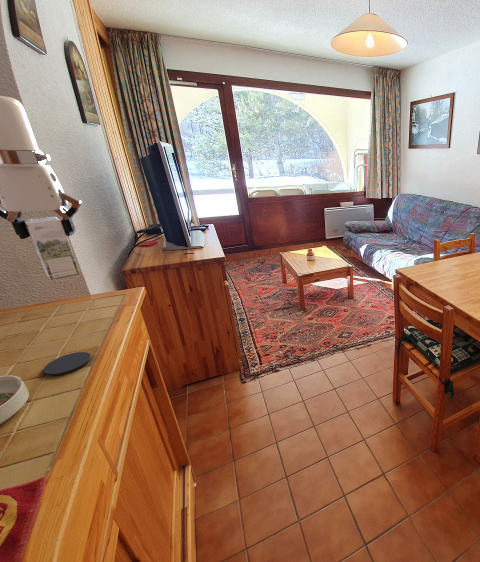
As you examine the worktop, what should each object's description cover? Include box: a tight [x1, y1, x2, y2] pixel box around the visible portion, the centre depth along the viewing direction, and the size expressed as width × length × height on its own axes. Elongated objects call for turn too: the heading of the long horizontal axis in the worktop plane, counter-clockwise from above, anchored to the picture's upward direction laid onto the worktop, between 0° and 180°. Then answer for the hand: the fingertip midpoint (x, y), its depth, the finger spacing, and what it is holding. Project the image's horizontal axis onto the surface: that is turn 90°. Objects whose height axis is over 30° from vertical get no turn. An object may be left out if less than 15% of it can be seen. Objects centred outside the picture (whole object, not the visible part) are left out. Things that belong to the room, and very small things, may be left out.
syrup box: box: [23, 216, 81, 281], centre depth 77 cm, size 6×6×14 cm
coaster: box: [42, 351, 92, 377], centre depth 67 cm, size 8×8×1 cm
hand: (48, 235), depth 76 cm, fingers closed on syrup box, 7 cm apart
